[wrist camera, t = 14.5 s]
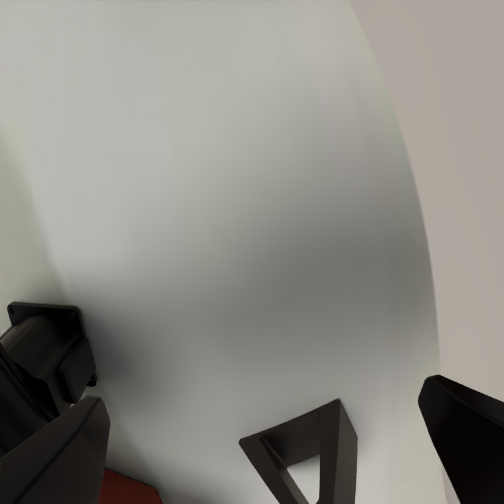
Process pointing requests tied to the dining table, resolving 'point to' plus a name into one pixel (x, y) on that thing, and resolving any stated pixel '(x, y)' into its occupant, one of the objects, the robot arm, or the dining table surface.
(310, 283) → the dining table surface
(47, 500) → the robot arm
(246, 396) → the dining table surface
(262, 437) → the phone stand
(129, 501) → the plant pot
